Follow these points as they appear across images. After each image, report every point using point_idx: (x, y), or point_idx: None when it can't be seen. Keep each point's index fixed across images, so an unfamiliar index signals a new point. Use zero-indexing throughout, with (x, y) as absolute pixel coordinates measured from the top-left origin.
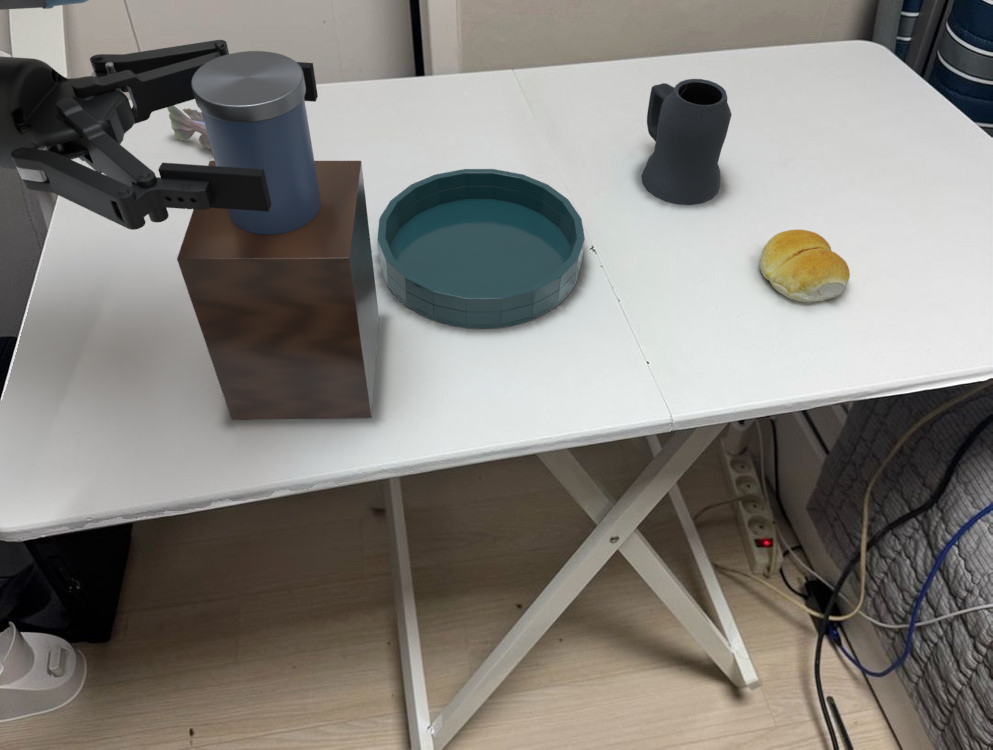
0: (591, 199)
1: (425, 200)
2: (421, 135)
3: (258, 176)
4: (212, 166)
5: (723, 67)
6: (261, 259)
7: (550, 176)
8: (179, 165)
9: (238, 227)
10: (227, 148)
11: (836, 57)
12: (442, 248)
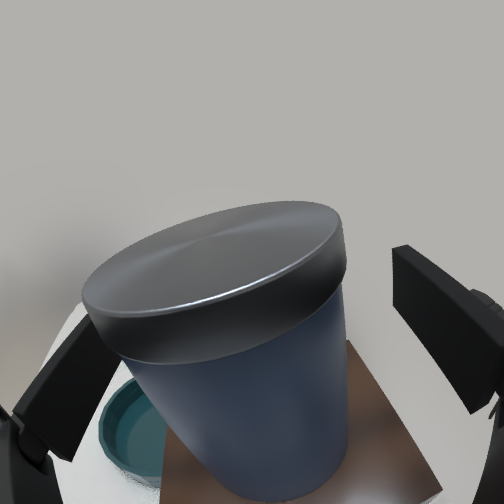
0: (131, 378)
1: (115, 454)
2: (49, 455)
3: (408, 246)
4: (438, 283)
5: (65, 336)
6: (391, 405)
7: (106, 396)
8: (480, 318)
9: (340, 465)
10: (345, 338)
11: (79, 309)
12: (163, 448)
